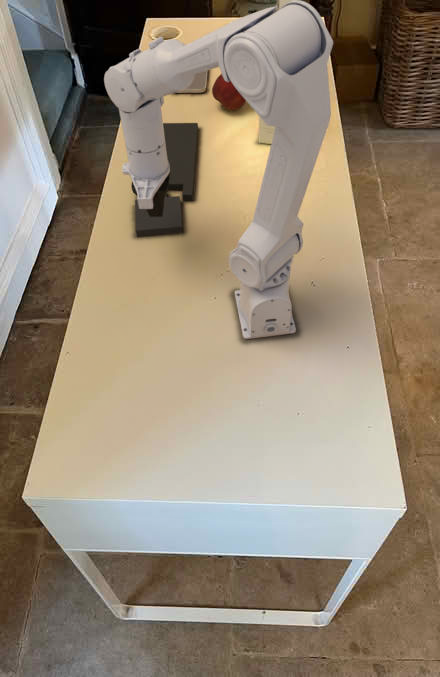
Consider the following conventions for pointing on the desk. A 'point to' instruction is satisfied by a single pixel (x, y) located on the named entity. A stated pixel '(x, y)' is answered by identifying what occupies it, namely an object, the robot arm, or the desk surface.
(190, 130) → the black pad
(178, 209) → the charcoal pad
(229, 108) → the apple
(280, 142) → the robot arm
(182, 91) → the smartphone
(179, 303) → the desk surface
